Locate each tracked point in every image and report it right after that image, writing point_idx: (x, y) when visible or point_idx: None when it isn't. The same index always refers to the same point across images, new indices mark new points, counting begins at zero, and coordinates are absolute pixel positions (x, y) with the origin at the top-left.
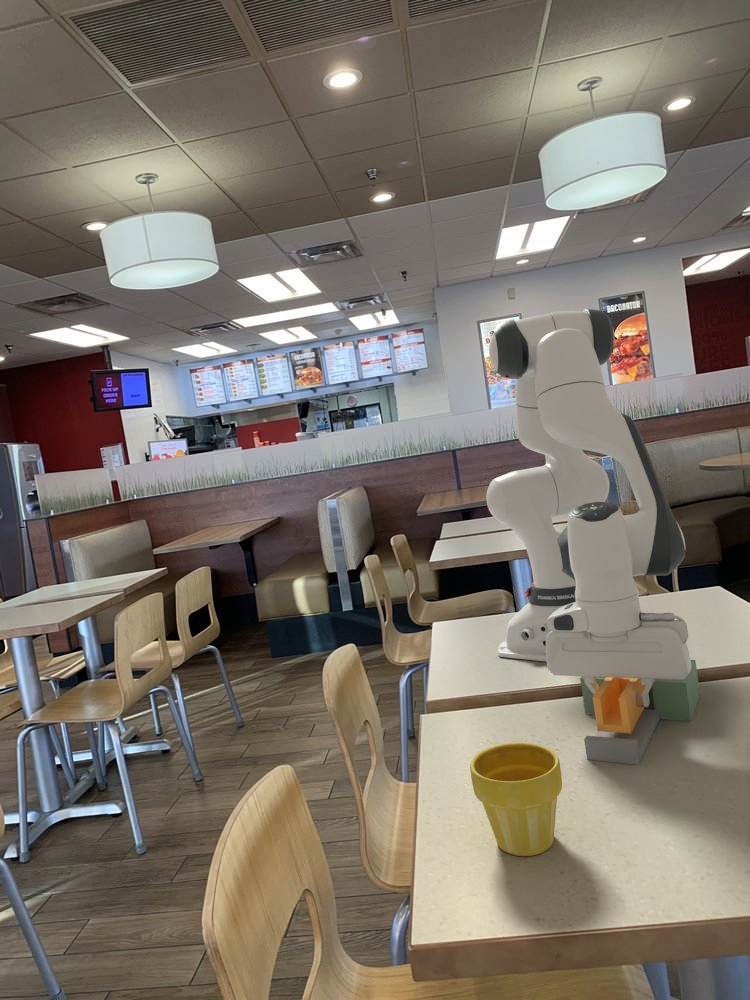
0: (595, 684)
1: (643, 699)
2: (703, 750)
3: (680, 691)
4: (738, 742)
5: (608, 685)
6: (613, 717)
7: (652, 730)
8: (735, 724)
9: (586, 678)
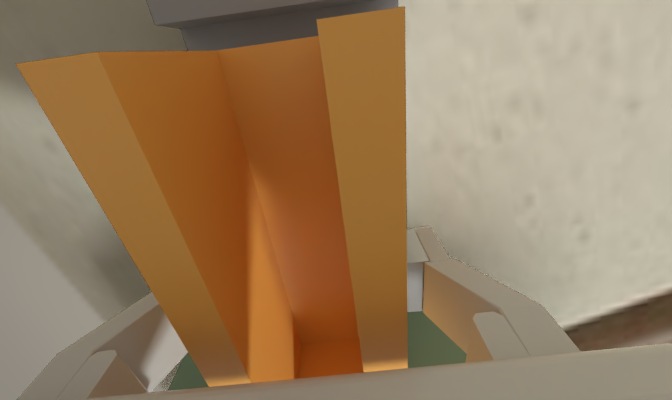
0: (458, 325)
1: None
2: (81, 175)
3: (189, 385)
4: (42, 242)
5: (356, 312)
6: (311, 146)
7: None
8: (112, 316)
9: (545, 341)
